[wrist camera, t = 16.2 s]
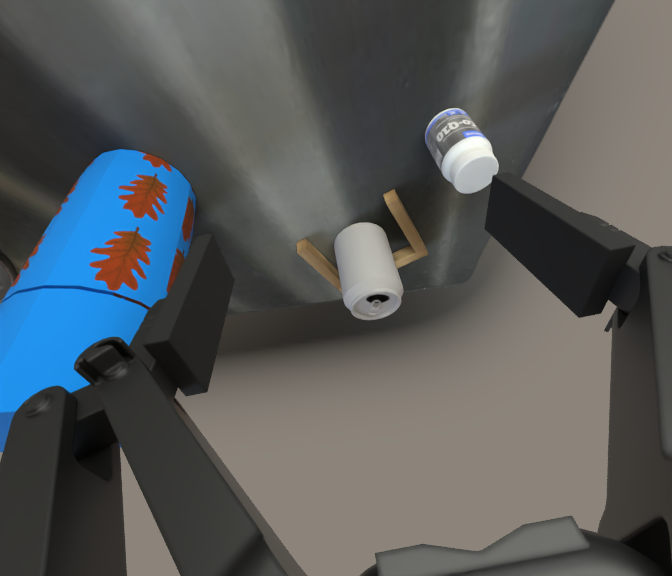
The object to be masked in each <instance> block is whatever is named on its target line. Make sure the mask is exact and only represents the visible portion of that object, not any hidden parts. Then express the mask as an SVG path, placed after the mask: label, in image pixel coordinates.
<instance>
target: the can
mask: <svg viewBox="0 0 672 576" xmlns="http://www.w3.org/2000/svg"><path fill="white" fill-rule="evenodd" d="M334 249H335V255H336V260H337V266H338V272H339V278H340V283H341V289H342V295H343V301H344V303H345V305H346V307H348V308H349V309H350V310H351V313H352V315H354V316H355V317H357V318H360V319H364V320H375V319H380V318H383V317H386V316H388V315H390V314H392V313H393V312H395V311H396V309H398V308H399V307H400V304H401V296H402V294H403V286H402V283H401V280H400V277H399V274H398V270H397V267H396V264H395V261H394V258H393V255H392V252H391V249H390V246H389V243H388V239H387V236H386V233H385V232H384V230H383V229H382V228H381V227H380V226H378V225H376V224H372V223H356V224H353V225H350V226H349V227H347V228H345V229H343V230H342V231H341V232H340V233H339V234H338V236H337V237H336V239H335V243H334Z"/></svg>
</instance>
